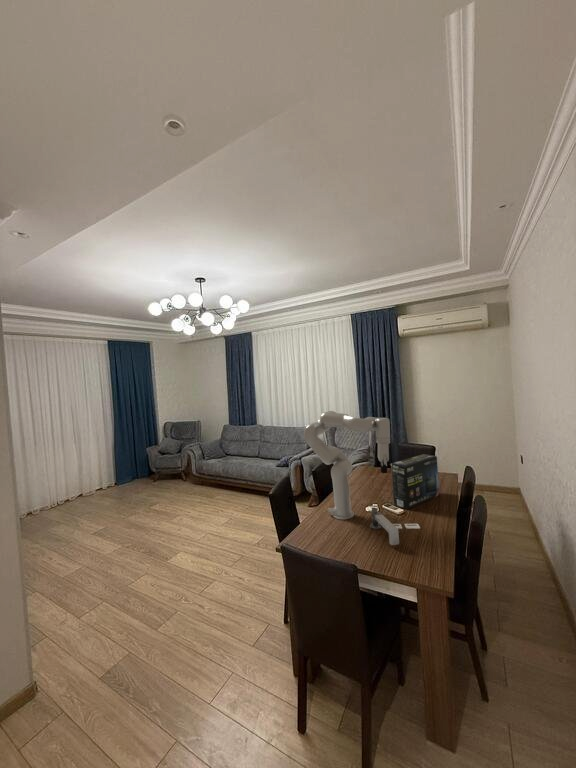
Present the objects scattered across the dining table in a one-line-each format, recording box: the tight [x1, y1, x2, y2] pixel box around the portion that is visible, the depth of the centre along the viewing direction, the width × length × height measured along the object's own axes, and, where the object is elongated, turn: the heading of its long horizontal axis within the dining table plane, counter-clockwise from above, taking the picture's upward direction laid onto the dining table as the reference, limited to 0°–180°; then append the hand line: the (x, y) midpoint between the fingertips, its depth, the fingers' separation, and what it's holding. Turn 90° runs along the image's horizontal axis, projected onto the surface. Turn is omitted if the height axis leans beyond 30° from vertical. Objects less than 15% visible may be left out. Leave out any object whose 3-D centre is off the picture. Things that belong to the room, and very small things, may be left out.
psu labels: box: [392, 523, 421, 530], centre depth 163 cm, size 16×5×1 cm, turn 81°
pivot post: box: [369, 506, 382, 530], centre depth 166 cm, size 6×6×10 cm
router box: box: [390, 453, 440, 510], centre depth 198 cm, size 36×11×27 cm, turn 123°
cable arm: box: [371, 511, 400, 546], centre depth 153 cm, size 20×4×7 cm, turn 8°
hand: (384, 472), depth 171 cm, fingers closed
